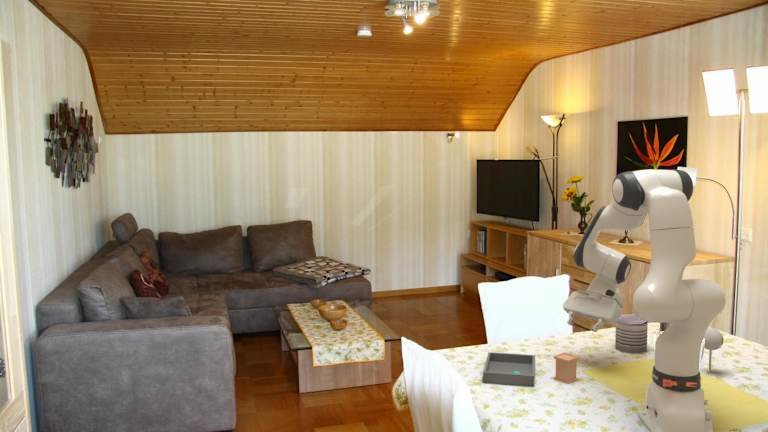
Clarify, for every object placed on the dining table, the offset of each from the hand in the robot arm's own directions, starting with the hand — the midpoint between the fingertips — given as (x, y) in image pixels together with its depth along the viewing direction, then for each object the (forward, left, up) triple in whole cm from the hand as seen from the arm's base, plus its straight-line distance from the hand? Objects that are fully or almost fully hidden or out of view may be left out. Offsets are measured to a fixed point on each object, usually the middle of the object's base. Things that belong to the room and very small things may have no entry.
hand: (581, 327), depth 213 cm
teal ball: (-17, +21, -12) cm, 29 cm away
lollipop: (+4, -41, -15) cm, 44 cm away
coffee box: (+14, -31, -15) cm, 37 cm away
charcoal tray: (-10, +23, -14) cm, 29 cm away
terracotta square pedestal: (-11, +5, -14) cm, 19 cm away
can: (+24, -19, -15) cm, 34 cm away
